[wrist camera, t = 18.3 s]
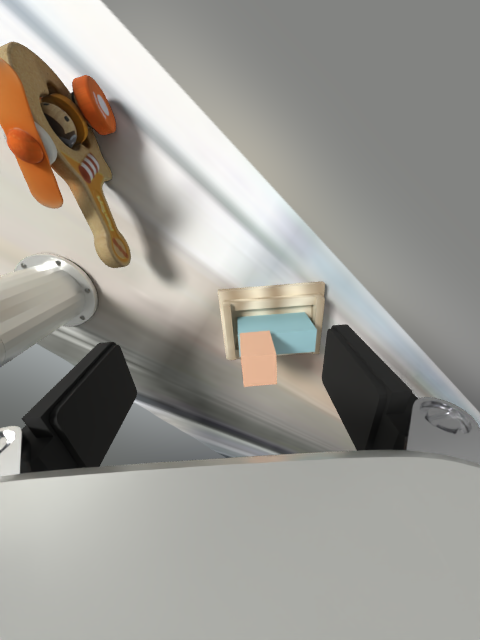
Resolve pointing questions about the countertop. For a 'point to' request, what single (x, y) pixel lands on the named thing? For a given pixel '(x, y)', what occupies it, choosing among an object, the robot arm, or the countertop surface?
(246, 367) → the peach brick
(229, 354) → the jig
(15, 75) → the toy helicopter
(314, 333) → the light blue block
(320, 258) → the countertop surface
